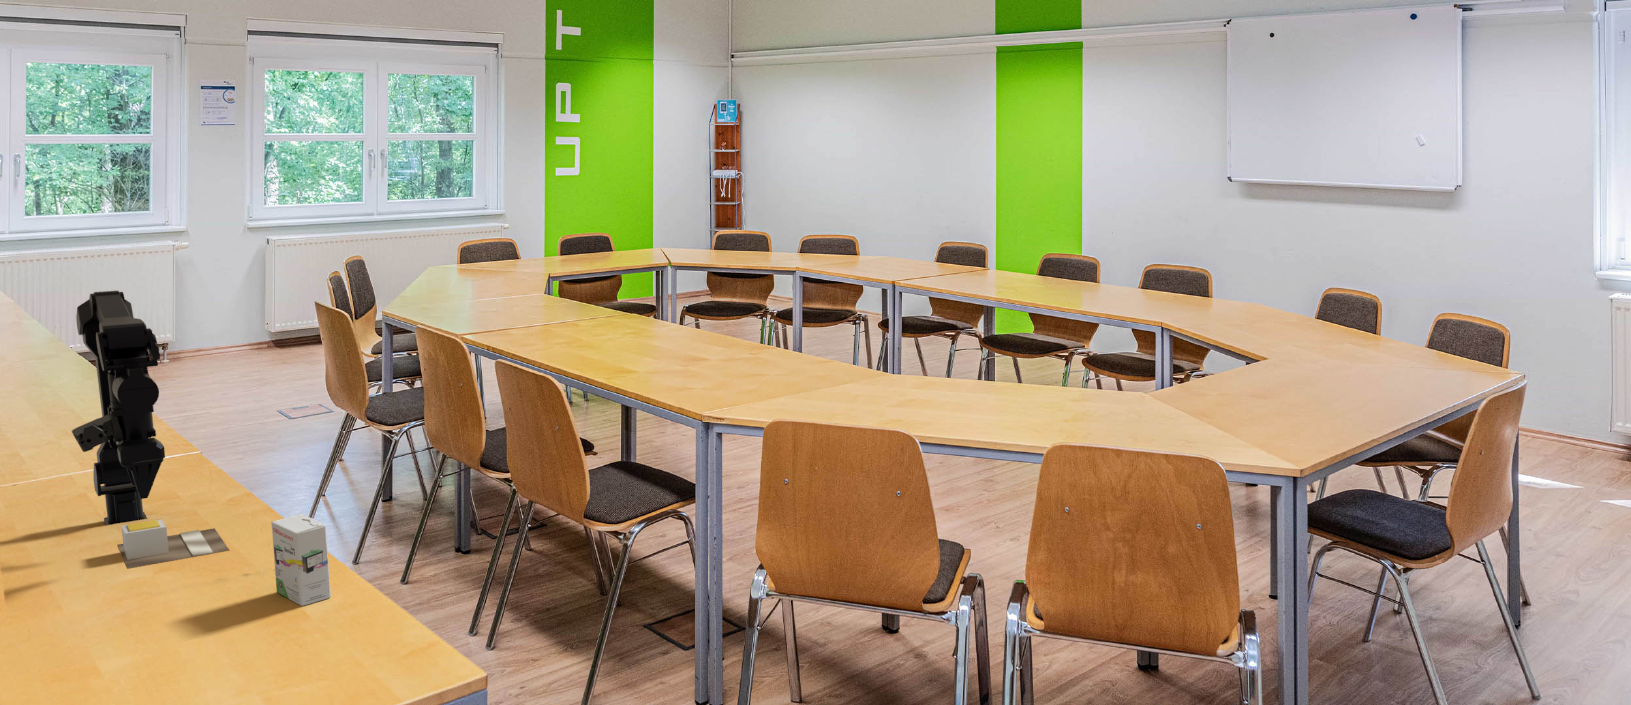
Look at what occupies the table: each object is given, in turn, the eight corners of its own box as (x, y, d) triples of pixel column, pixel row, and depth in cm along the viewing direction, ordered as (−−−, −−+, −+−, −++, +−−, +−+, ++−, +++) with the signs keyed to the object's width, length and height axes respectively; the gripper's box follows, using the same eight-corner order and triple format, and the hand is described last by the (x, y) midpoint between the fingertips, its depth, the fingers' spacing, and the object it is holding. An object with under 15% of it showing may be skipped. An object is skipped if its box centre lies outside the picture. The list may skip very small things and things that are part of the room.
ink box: (275, 593, 185) (269, 520, 183) (306, 584, 189) (300, 512, 187) (301, 607, 180) (295, 532, 177) (332, 597, 183) (327, 524, 181)
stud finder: (124, 551, 200) (121, 524, 199) (164, 544, 203) (161, 518, 202) (127, 560, 196) (124, 532, 195) (168, 552, 199) (166, 525, 198)
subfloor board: (118, 551, 203) (117, 543, 203) (215, 534, 212) (214, 527, 212) (128, 575, 192) (127, 567, 192) (230, 557, 201) (229, 549, 200)
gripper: (67, 395, 197) (77, 485, 200) (79, 417, 183) (89, 515, 185) (143, 386, 204) (152, 474, 207) (160, 408, 189) (169, 502, 192)
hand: (139, 491), depth 198 cm, fingers open, 9 cm apart
